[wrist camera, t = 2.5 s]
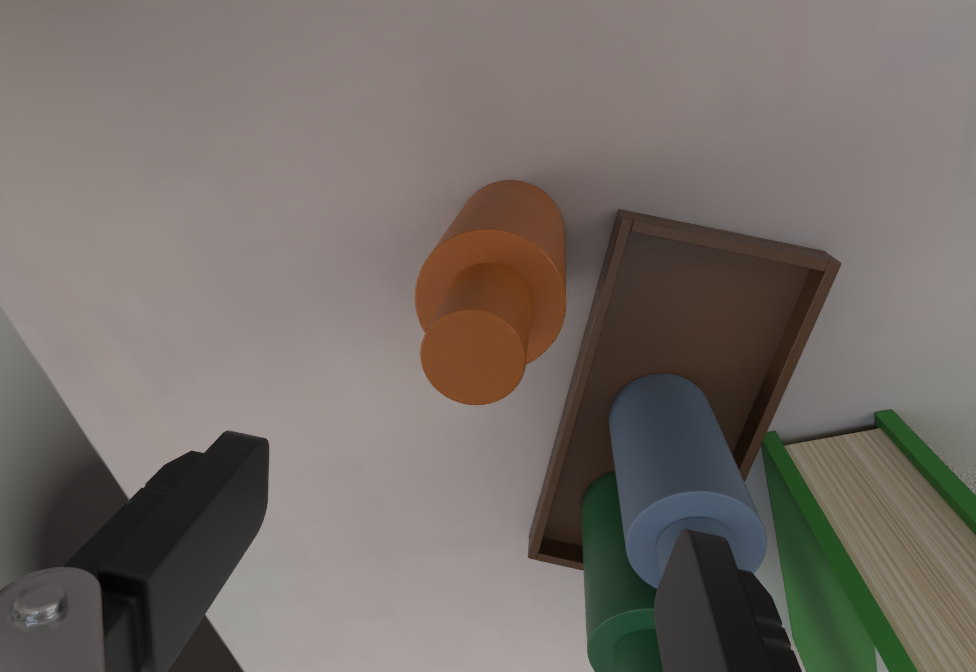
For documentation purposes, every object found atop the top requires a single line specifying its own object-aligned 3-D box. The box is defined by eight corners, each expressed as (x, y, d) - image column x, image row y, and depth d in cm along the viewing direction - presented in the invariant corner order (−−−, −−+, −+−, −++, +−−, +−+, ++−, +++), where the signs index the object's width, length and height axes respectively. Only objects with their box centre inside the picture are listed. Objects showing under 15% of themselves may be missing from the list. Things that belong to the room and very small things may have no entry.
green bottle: (571, 531, 41) (577, 786, 26) (593, 459, 38) (613, 697, 24) (658, 551, 41) (713, 818, 26) (687, 480, 38) (764, 731, 24)
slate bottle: (597, 447, 38) (620, 680, 24) (623, 363, 36) (666, 566, 21) (692, 467, 38) (773, 715, 23) (724, 384, 35) (838, 605, 21)
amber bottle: (450, 274, 35) (371, 418, 21) (466, 169, 33) (391, 250, 18) (551, 295, 35) (544, 455, 20) (576, 192, 33) (588, 291, 18)
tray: (529, 535, 42) (527, 558, 40) (618, 208, 33) (621, 217, 31) (687, 570, 42) (694, 595, 40) (824, 251, 32) (842, 263, 30)
